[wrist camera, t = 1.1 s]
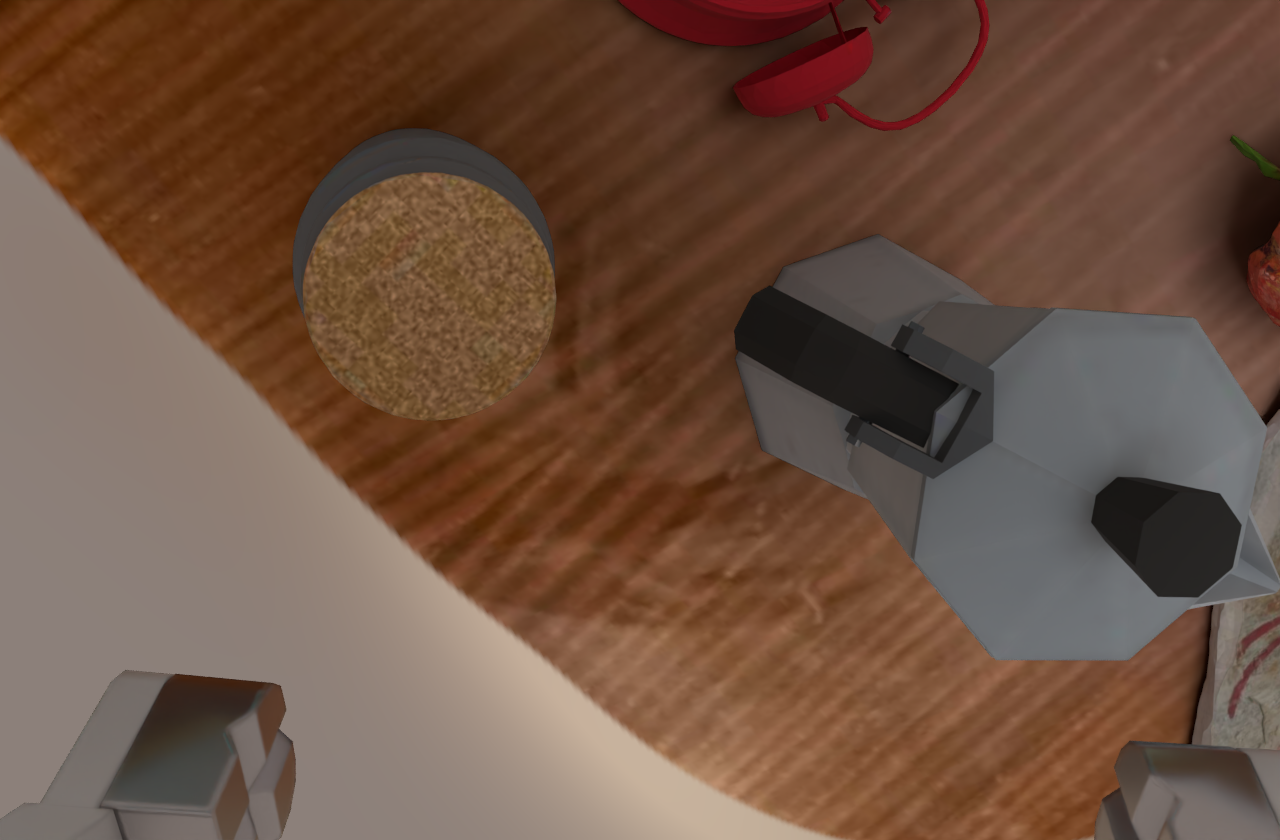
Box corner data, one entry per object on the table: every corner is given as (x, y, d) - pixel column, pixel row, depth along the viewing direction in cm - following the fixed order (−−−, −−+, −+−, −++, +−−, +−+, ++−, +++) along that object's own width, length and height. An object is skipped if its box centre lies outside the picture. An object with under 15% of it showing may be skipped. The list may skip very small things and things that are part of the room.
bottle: (378, 353, 38) (369, 502, 24) (281, 181, 36) (208, 230, 22) (546, 267, 38) (637, 363, 24) (458, 93, 36) (499, 84, 22)
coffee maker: (1072, 329, 42) (1534, 481, 25) (947, 549, 43) (1307, 838, 26) (703, 123, 38) (955, 137, 21) (576, 372, 39) (716, 579, 22)
